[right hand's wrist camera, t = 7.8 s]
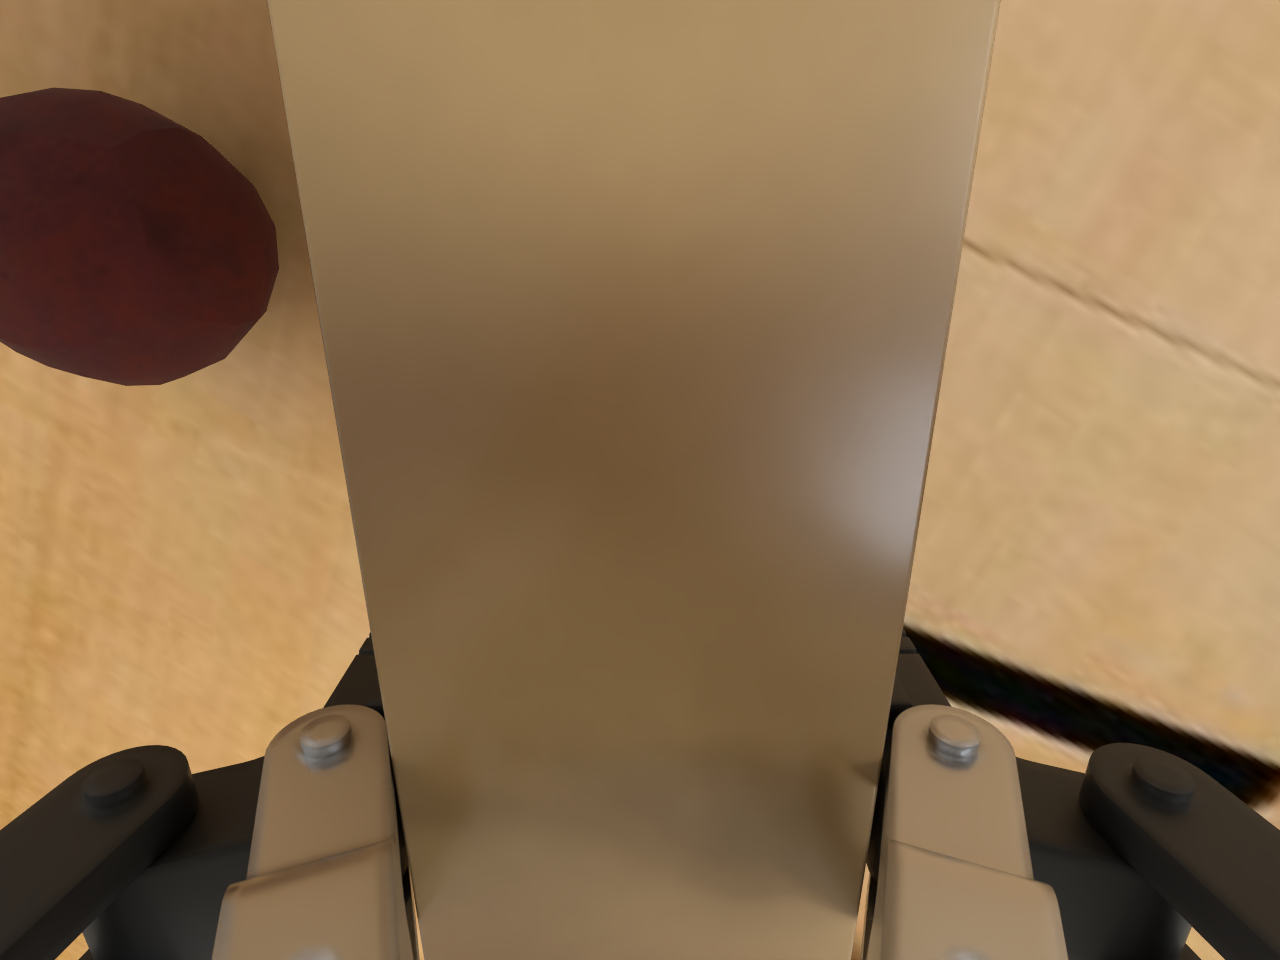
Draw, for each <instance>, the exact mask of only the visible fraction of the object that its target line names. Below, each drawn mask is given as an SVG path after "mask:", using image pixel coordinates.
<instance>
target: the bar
mask: <svg viewBox="0 0 1280 960" xmlns="http://www.w3.org/2000/svg"><path fill="white" fill-rule="evenodd" d="M1000 1H1001V0H267V3H268V9H269V15H270V21H271V27H272V33H273V39H274V46H275V52H276V58H277V64H278V70H279V76H280V82H281V88H282V94H283V100H284V106H285V113H286V119H287V125H288V131H289V137H290V143H291V149H292V155H293V161H294V167H295V173H296V180H297V186H298V192H299V198H300V204H301V210H302V216H303V222H304V228H305V234H306V240H307V247H308V253H309V259H310V265H311V271H312V277H313V283H314V289H315V295H316V301H317V307H318V314H319V320H320V326H321V332H322V338H323V344H324V350H325V356H326V362H327V368H328V375H329V381H330V387H331V393H332V399H333V405H334V411H335V417H336V423H337V429H338V435H339V442H340V448H341V454H342V460H343V466H344V472H345V478H346V484H347V490H348V496H349V502H350V509H351V515H352V521H353V527H354V533H355V539H356V545H357V551H358V557H359V563H360V569H361V576H362V582H363V588H364V594H365V600H366V606H367V612H368V618H369V624H370V630H371V636H372V643H373V649H374V655H375V661H376V667H377V673H378V679H379V685H380V691H381V697H382V703H383V710H384V716H385V722H386V728H387V734H388V740H389V746H390V752H391V758H392V764H393V770H394V777H395V783H396V789H397V795H398V801H399V807H400V813H401V819H402V825H403V831H404V837H405V844H406V850H407V856H408V862H409V868H410V874H411V880H412V886H413V892H414V898H415V904H416V911H417V917H418V923H419V929H420V935H421V941H422V947H423V953H424V959H425V960H851V955H852V949H853V943H854V936H855V930H856V923H857V917H858V911H859V904H860V898H861V891H862V885H863V879H864V872H865V866H866V859H867V853H868V847H869V840H870V834H871V827H872V821H873V815H874V808H875V802H876V795H877V789H878V783H879V776H880V770H881V763H882V757H883V750H884V744H885V738H886V731H887V725H888V718H889V712H890V706H891V699H892V693H893V686H894V680H895V674H896V667H897V661H898V654H899V648H900V642H901V635H902V629H903V622H904V616H905V610H906V603H907V597H908V590H909V584H910V578H911V571H912V565H913V558H914V552H915V546H916V539H917V533H918V526H919V520H920V513H921V507H922V501H923V494H924V488H925V481H926V475H927V469H928V462H929V456H930V449H931V443H932V437H933V430H934V424H935V417H936V411H937V405H938V398H939V392H940V385H941V379H942V373H943V366H944V360H945V353H946V347H947V341H948V334H949V328H950V321H951V315H952V309H953V302H954V296H955V289H956V283H957V276H958V270H959V264H960V257H961V251H962V244H963V238H964V232H965V225H966V219H967V212H968V206H969V200H970V193H971V187H972V180H973V174H974V168H975V161H976V155H977V148H978V142H979V136H980V129H981V123H982V116H983V110H984V104H985V97H986V91H987V84H988V78H989V72H990V65H991V59H992V52H993V46H994V40H995V33H996V27H997V20H998V14H999V7H1000Z"/></svg>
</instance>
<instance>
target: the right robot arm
mask: <svg viewBox="0 0 1280 960" xmlns="http://www.w3.org/2000/svg"><path fill="white" fill-rule="evenodd" d="M369 635H370V636H369V638H367V639H366V640H365V642H364V644H363V645H362V647H361V648H360V650H359V655H356V656H355V658H354V660H353V661H352V663H351V664H350V666H349V668H348V669H347V671H346V672H345V674H344V676H343V677H342V679H341V680H340V682H339V684H338V685H337V687H336V688H335V690H334V692H333V693H332V695H331V696H330V698H329V700H328V701H327V703H326V705H325V706H324V708H322V709H319V710H316V711H313V712H310V713H308V714H306V715H304V716H302V717H300V718H298V719H296V720H295V721H293V722H291V723H290V724H288V725H287V726H286V727H284V728H283V729H282V730H281V731H280V732H279V733H278V734H277V735H276V736H275V737H274V738H273V740H272V741H271V742H270V744H269V746H268V748H267V749H266V753H265V756H263V757H260V758H258V759H255V760H251V761H248V762H244V763H240V764H235V765H231V766H226V767H222V768H218V769H213V770H209V771H204V772H200V773H195V774H191V771H190V767H189V764H188V761H187V758H186V756H185V755H184V754H183V753H182V752H181V751H179V750H177V749H175V748H172V747H169V746H161V745H148V746H141V747H135V748H131V749H126V750H123V751H120V752H117V753H113V754H111V755H109V756H106V757H104V758H101V759H99V760H97V761H95V762H93V763H91V764H89V765H87V766H86V767H84V768H82V769H81V770H79V771H77V772H76V773H74V774H73V775H72V776H70V777H69V778H67V779H66V780H65V781H63V782H62V783H61V784H60V785H58V786H57V787H56V788H54V789H53V790H52V791H50V792H49V793H48V794H47V795H45V796H44V797H43V798H41V799H40V800H39V801H38V802H36V803H35V804H34V805H32V806H31V807H30V808H29V809H27V810H26V811H25V812H23V813H22V814H21V815H19V816H18V817H17V818H16V819H14V820H13V821H12V822H10V823H9V824H8V825H7V826H5V827H4V828H3V829H1V830H0V960H55V959H56V958H57V957H58V956H59V955H60V954H61V953H62V952H63V951H64V950H65V949H66V948H67V947H68V946H69V945H70V944H71V943H72V942H73V941H74V940H75V939H76V938H77V937H78V936H79V935H80V934H81V933H82V932H83V935H84V937H85V940H86V942H87V944H88V947H89V949H88V951H87V952H86V953H85V954H84V955H83V956H82V957H81V958H80V959H79V960H420V959H419V949H418V938H417V928H416V917H415V907H414V896H413V886H412V880H411V874H410V868H409V862H408V856H407V850H406V844H405V837H404V831H403V825H402V819H401V813H400V807H399V801H398V795H397V789H396V783H395V777H394V770H393V764H392V758H391V752H390V746H389V740H388V734H387V728H386V722H385V716H384V710H383V703H382V697H381V691H380V685H379V679H378V673H377V667H376V661H375V655H374V649H373V643H372V636H371V632H370V634H369ZM866 863H867V866H868V869H869V872H870V874H869V880H868V886H867V897H866V907H865V917H864V928H863V938H862V949H861V959H860V960H1201V959H1200V958H1199V957H1198V956H1197V955H1196V954H1195V953H1194V952H1193V951H1192V950H1191V948H1190V947H1189V946H1188V945H1187V944H1186V943H1185V942H1186V940H1187V937H1188V935H1189V932H1190V930H1191V927H1193V928H1194V929H1195V930H1196V931H1197V932H1198V933H1199V934H1200V935H1201V936H1202V937H1203V938H1204V939H1205V940H1206V941H1207V942H1208V943H1209V944H1210V945H1211V946H1212V947H1213V948H1214V949H1215V950H1216V951H1217V952H1218V953H1219V954H1220V955H1221V956H1222V957H1223V958H1224V959H1225V960H1280V830H1279V829H1277V828H1276V827H1275V826H1273V825H1272V824H1271V823H1270V822H1268V821H1267V820H1266V819H1264V818H1263V817H1262V816H1261V815H1259V814H1258V813H1257V812H1255V811H1254V810H1253V809H1251V808H1250V807H1249V806H1248V805H1246V804H1245V803H1244V802H1242V801H1241V800H1240V799H1239V798H1237V797H1236V796H1235V795H1233V794H1232V793H1231V792H1229V791H1228V790H1227V789H1226V788H1224V787H1223V786H1222V785H1220V784H1219V783H1218V782H1217V781H1215V780H1214V779H1213V778H1211V777H1210V776H1209V775H1207V774H1206V773H1204V772H1203V771H1202V770H1200V769H1199V768H1197V767H1195V766H1194V765H1192V764H1190V763H1189V762H1187V761H1185V760H1183V759H1181V758H1179V757H1177V756H1174V755H1172V754H1169V753H1167V752H1164V751H1161V750H1158V749H1155V748H1152V747H1148V746H1143V745H1138V744H1131V743H1114V744H1108V745H1104V746H1102V747H1100V748H1098V749H1096V750H1095V751H1094V752H1093V753H1092V755H1091V757H1090V759H1089V763H1088V766H1087V770H1086V773H1080V772H1076V771H1071V770H1067V769H1062V768H1058V767H1054V766H1049V765H1045V764H1040V763H1036V762H1032V761H1028V760H1024V759H1020V758H1018V757H1016V756H1015V753H1014V749H1013V748H1012V746H1011V744H1010V742H1009V741H1008V740H1007V738H1006V737H1005V736H1004V735H1003V734H1002V733H1001V732H1000V731H999V730H998V729H997V728H996V727H994V726H993V725H992V724H990V723H989V722H987V721H985V720H984V719H982V718H980V717H978V716H976V715H974V714H972V713H970V712H967V711H964V710H961V709H958V708H954V707H951V705H950V704H949V702H948V700H947V699H946V697H945V696H944V694H943V692H942V691H941V689H940V687H939V686H938V684H937V682H936V681H935V679H934V678H933V676H932V674H931V673H930V671H929V669H928V668H927V666H926V665H925V663H924V661H923V660H922V658H921V656H920V655H919V654H917V653H916V648H915V647H914V645H913V643H912V642H911V640H910V639H909V637H906V632H905V630H904V629H902V635H901V642H900V648H899V654H898V661H897V667H896V674H895V680H894V686H893V693H892V699H891V706H890V712H889V718H888V725H887V731H886V738H885V744H884V750H883V757H882V763H881V770H880V776H879V783H878V789H877V795H876V802H875V808H874V815H873V821H872V827H871V834H870V840H869V847H868V853H867V859H866Z"/></svg>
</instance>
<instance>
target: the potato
mask: <svg viewBox="0 0 1280 960" xmlns="http://www.w3.org/2000/svg"><path fill="white" fill-rule="evenodd" d="M278 270H279V264H278V253H277V242H276V231H275V225H274V223H273V221H272V219H271V217H270V215H269V213H268V212H267V210H266V208H265V206H264V204H263V202H262V200H261V198H260V196H259V194H258V193H257V191H256V189H255V187H254V185H253V184H252V183H250V182H249V181H248V180H247V179H246V178H245V177H244V176H243V175H242V174H241V173H240V172H239V171H238V170H237V169H236V168H235V167H234V166H233V165H232V164H231V163H230V162H229V161H227V160H226V159H225V158H224V157H223V156H222V155H221V154H220V153H219V152H218V151H217V150H216V149H215V148H214V147H213V146H211V145H210V144H209V143H208V142H207V141H206V140H205V139H204V138H202V137H201V136H200V135H198V134H196V133H194V132H192V131H190V130H188V129H187V128H185V127H183V126H181V125H179V124H177V123H175V122H173V121H172V120H170V119H168V118H166V117H164V116H162V115H160V114H159V113H157V112H155V111H153V110H151V109H149V108H147V107H146V106H144V105H142V104H139V103H135V102H132V101H129V100H126V99H123V98H120V97H117V96H114V95H111V94H108V93H105V92H102V91H93V90H79V89H65V88H49V89H44V90H39V91H34V92H29V93H24V94H18V95H13V96H8V97H3V98H0V342H2V343H3V344H5V345H6V346H8V347H10V348H11V349H13V350H14V351H16V352H18V353H20V354H22V355H24V356H26V357H29V358H31V359H33V360H35V361H37V362H40V363H42V364H44V365H46V366H49V367H52V368H55V369H59V370H62V371H66V372H69V373H73V374H76V375H80V376H83V377H88V378H93V379H97V380H102V381H107V382H111V383H116V384H121V385H125V386H134V385H161V384H164V383H167V382H170V381H173V380H176V379H179V378H182V377H184V376H187V375H189V374H191V373H193V372H196V371H198V370H200V369H202V368H205V367H207V366H209V365H211V364H214V363H216V362H218V361H221V360H223V359H225V358H226V357H227V356H228V354H229V353H230V352H231V351H232V350H233V349H234V347H235V346H236V345H237V344H238V343H239V342H240V341H241V339H242V338H243V337H244V336H245V335H246V334H247V333H248V331H249V330H250V329H251V328H252V327H253V326H254V324H255V323H256V322H257V321H258V320H259V319H260V318H261V316H262V315H263V314H264V313H265V312H266V310H267V306H268V303H269V300H270V296H271V293H272V290H273V286H274V283H275V280H276V276H277V273H278Z"/></svg>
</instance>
